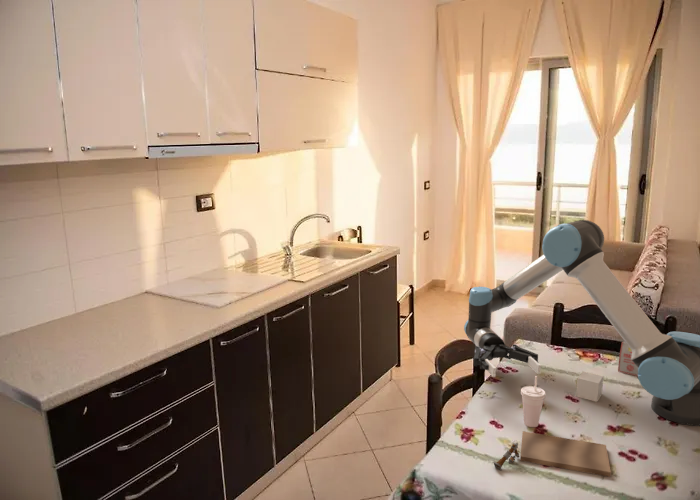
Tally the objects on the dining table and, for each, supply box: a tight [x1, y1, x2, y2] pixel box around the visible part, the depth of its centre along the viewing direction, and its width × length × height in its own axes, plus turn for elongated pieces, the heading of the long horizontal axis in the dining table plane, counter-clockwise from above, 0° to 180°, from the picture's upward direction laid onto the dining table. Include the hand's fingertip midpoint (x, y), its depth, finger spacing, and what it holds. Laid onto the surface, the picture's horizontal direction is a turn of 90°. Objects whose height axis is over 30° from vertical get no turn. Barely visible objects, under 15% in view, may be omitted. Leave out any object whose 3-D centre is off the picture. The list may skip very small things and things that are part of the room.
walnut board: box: [519, 431, 612, 478], centre depth 134 cm, size 20×12×1 cm, turn 70°
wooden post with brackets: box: [493, 442, 520, 471], centre depth 131 cm, size 2×8×4 cm, turn 125°
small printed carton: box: [617, 341, 638, 377], centre depth 179 cm, size 4×7×10 cm, turn 51°
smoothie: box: [520, 375, 546, 428], centre depth 148 cm, size 6×6×14 cm
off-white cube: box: [575, 371, 604, 403], centre depth 164 cm, size 6×6×6 cm
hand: (517, 371), depth 157 cm, fingers open, 13 cm apart
